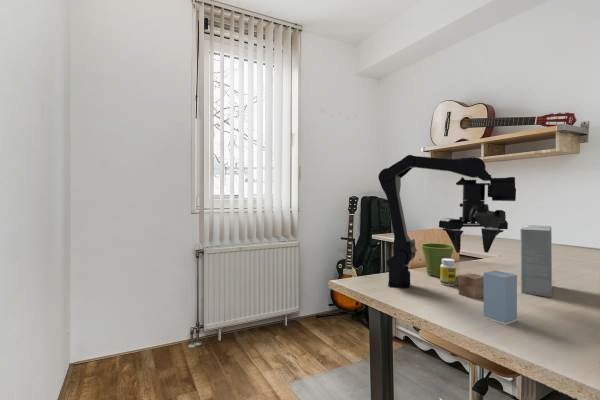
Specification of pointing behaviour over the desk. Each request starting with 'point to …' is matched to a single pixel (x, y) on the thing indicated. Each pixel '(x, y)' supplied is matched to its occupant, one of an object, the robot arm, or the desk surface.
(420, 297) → the desk surface
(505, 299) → the slate block
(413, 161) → the robot arm
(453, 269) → the supplement bottle
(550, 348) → the desk surface
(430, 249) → the plant pot
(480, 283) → the walnut block
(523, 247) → the hard drive box
